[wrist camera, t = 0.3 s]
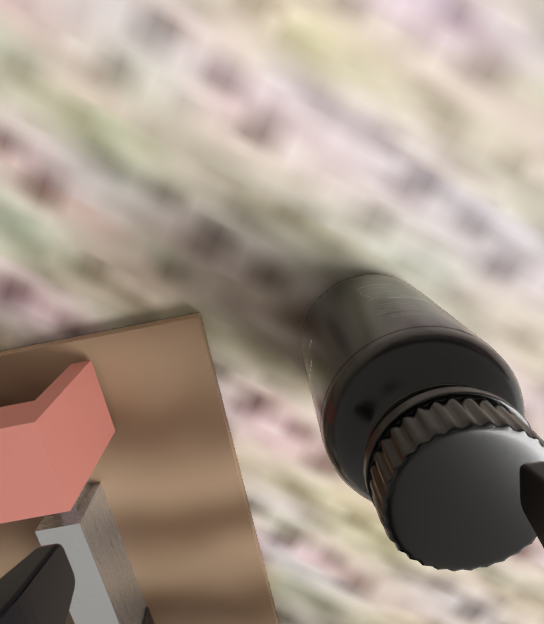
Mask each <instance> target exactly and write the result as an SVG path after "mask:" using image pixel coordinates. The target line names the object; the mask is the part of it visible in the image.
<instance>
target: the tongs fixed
mask: <svg viewBox="0 0 544 624" xmlns="http://www.w3.org/2000/svg"><path fill="white" fill-rule="evenodd" d="M35 533H36V535H37V538H38V540H39V542H40V545H41V546H44V545H50V544H56V543H57V544H61V545H62V546H63V548H64V550H65V552H66V555H67V557H68V560H69V562H70V565H71V567H72V570H73V572H74V576H75V589H74V593H73V597H72V601H71V605H70V609H69V611H70V614H71V616H72V618H73V621H74V623H75V624H154V621H153V618H152V616H151V613H150V610H149V607H146V604H145V601H144V598H143V596H142V593H141V590H140V587H139V585H138V582H137V579H136V577H135V574H134V571H133V568H132V566H131V563H130V560H129V557H128V555H127V552H126V549H125V546H124V544H123V541H122V538H121V536H120V533H119V530H118V527H117V525H116V522H115V519H114V516H113V514H112V511H111V508H110V505H109V503H108V500H107V497H106V495H105V492H104V489H103V486H102V484H101V482H98V483H93V484H92V483H91V480H90V477H89V479H88V481H87V482H86V484H85V486H84V488H83V489H82V491H81V493H80V495H79V497H78V498H77V500H76V502H75V504H74V505H73V507H72V509H71V511H67V512H62V513H56V514H51V515H45V516H44V518H43V519H42V521H41V522H40V524H39V526H38V527H37V529H36V530H35Z"/></svg>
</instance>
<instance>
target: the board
mask: <svg viewBox="0 0 544 624" xmlns="http://www.w3.org/2000/svg"><path fill="white" fill-rule="evenodd" d="M89 360H91V361H92V364H93V367H94V370H95V373H96V376H97V379H98V382H99V385H100V388H101V390H102V393H103V396H104V399H105V402H106V405H107V408H108V411H109V414H110V417H111V420H112V423H113V426H114V429H115V433H114V434H113V436H112V438H111V440H110V441H109V443H108V445H107V447H106V449H105V450H104V452H103V454H102V456H101V457H100V459H99V461H98V463H97V465H96V466H95V468H94V470H93V472H92V473H91V475H90V480H91V483H92V484H93V483H98V482H101V484H102V486H103V489H104V492H105V495H106V497H107V500H108V503H109V505H110V508H111V511H112V514H113V516H114V519H115V522H116V525H117V527H118V530H119V533H120V536H121V538H122V541H123V544H124V546H125V549H126V552H127V555H128V557H129V560H130V563H131V566H132V568H133V571H134V574H135V577H136V579H137V582H138V585H139V587H140V590H141V593H142V596H143V598H144V601H145V604H146V607H149V610H150V613H151V616H152V618H153V621H154V624H279V621H278V617H277V613H276V610H275V606H274V602H273V598H272V594H271V590H270V586H269V582H268V578H267V574H266V570H265V566H264V562H263V558H262V554H261V551H260V547H259V543H258V539H257V535H256V531H255V527H254V523H253V519H252V515H251V511H250V507H249V503H248V499H247V495H246V492H245V488H244V484H243V480H242V476H241V472H240V468H239V464H238V460H237V456H236V452H235V448H234V444H233V440H232V436H231V433H230V429H229V425H228V421H227V417H226V413H225V409H224V405H223V401H222V397H221V393H220V389H219V385H218V381H217V377H216V374H215V370H214V366H213V362H212V358H211V354H210V350H209V346H208V342H207V338H206V334H205V330H204V326H203V322H202V318H201V315H200V313H194V314H189V315H184V316H179V317H174V318H169V319H164V320H158V321H153V322H148V323H143V324H138V325H133V326H128V327H122V328H117V329H112V330H107V331H102V332H97V333H92V334H86V335H81V336H76V337H71V338H66V339H61V340H56V341H51V342H45V343H40V344H35V345H30V346H25V347H20V348H15V349H9V350H4V351H0V407H4V406H9V405H14V404H20V403H25V402H30V401H35V400H36V399H37V398H38V397H39V396H40V395H41V394H42V393H43V392H44V391H45V390H46V389H47V388H48V387H49V386H50V385H51V384H52V383H53V382H54V381H55V380H56V379H57V378H58V377H59V376H60V375H61V374H62V373H63V372H64V371H65V370H66V369H67V368H68V367H69V366H70V365H71V364H73V363H78V362H83V361H89ZM43 518H44V516H40V517H34V518H29V519H23V520H18V521H12V522H7V523H1V524H0V578H1V577H3V576H4V575H5V574H6V573H7V572H9V571H10V570H11V569H12V568H13V567H15V566H16V565H17V564H18V563H19V562H21V561H22V560H23V559H24V558H25V557H27V556H28V555H29V554H30V553H31V552H32V551H34V550H35V549H36V548H38V547H40V546H41V545H40V542H39V540H38V538H37V535H36V533H35V530H36V529H37V527H38V526H39V524H40V522H41V521H42V519H43ZM66 624H75V623H74V621H73V618H72V616H71V614H70V611H69V613H68V617H67V621H66Z"/></svg>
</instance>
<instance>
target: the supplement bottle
mask: <svg viewBox="0 0 544 624" xmlns="http://www.w3.org/2000/svg"><path fill="white" fill-rule="evenodd" d="M302 353H303V358H304V364H305V368H306V372H307V376H308V381H309V385H310V389H311V393H312V398H313V402H314V406H315V411H316V415H317V419H318V423H319V427H320V432H321V436H322V440H323V443H324V447H325V449H326V452H327V455H328V457H329V460H330V462H331V464H332V466H333V467H334V469H335V470H336V472H337V473H338V475H339V476H340V477H341V478H342V479H343V481H344V482H345V483H346V484H347V485H348V486H350V487H351V488H352V489H353V490H354V491H356V492H357V493H358V494H360V495H361V496H363V497H364V498H366V499H368V500H370V501H371V502H372V503H373V504H374V506H375V508H376V510H377V513H378V516H379V518H380V521H381V523H382V525H383V526H384V529H385V532H386V534H387V536H388V538H389V539H390V540H391V541H392V542H394V543H395V546H396V547H397V549H398V550H399V551H401V552H404V553H406V554H407V556H408V557H409V558H410V559H412V560H417V561H419V562H420V563H421V564H422V565H425V566H433V567H434V568H436V569H438V570H440V569H448V570H451V571H458V570H462V569H463V570H470V571H471V570H473V569H476V568H479V567H488V566H490V565H492V564H494V563H498V562H503V561H505V560H506V559H507V558H508V557H510V556H512V555H515V554H518V553H519V552H520V551H521V550H522V549H523V548H524V547H526V546H528V545H530V544H532V543H533V541H534V540H535V538H536V537H537V535H536V533H535V531H534V530H533V528H532V526H531V524H530V523H529V521H528V519H527V517H526V515H525V513H524V511H523V509H522V506H521V502H520V479H519V470H520V467H521V466H522V465H523V464H526V463H532V462H538V461H544V441H543V440H542V439H541V438H540V437H539V436H538V435H537V434H536V433H535V432H534V431H533V430H532V429H531V427H530V425H529V423H528V422H527V421H526V419H525V418H524V403H523V397H522V393H521V389H520V386H519V383H518V381H517V379H516V377H515V375H514V373H513V371H512V370H511V368H510V367H509V365H508V364H507V363H506V361H505V360H504V359H503V358H502V357H501V356H500V355H499V354H498V353H497V352H496V351H495V350H494V349H493V348H492V347H490V346H489V345H488V344H487V343H486V342H484V341H483V340H482V339H481V338H479V337H478V336H477V335H475V334H474V333H473V332H472V331H470V330H469V329H468V328H466V327H465V326H464V325H463V324H461V323H460V322H459V321H457V320H456V319H455V318H454V317H452V316H451V315H450V314H448V313H447V312H446V311H445V310H443V309H442V308H441V307H440V306H438V305H437V304H436V303H434V302H433V301H432V300H431V299H429V298H428V297H427V296H425V295H424V294H423V293H421V292H420V291H419V290H417V289H416V288H414V287H413V286H412V285H410V284H408V283H406V282H404V281H402V280H400V279H398V278H394V277H391V276H387V275H379V274H369V275H361V276H356V277H353V278H350V279H347V280H344V281H342V282H340V283H338V284H337V285H335V286H333V287H332V288H330V289H329V290H328V291H326V292H325V293H324V294H323V295H322V296H321V297H320V298H319V299H318V300H317V302H316V303H315V304H314V306H313V307H312V309H311V310H310V312H309V314H308V316H307V318H306V321H305V324H304V328H303V333H302Z"/></svg>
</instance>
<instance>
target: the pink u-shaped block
mask: <svg viewBox="0 0 544 624" xmlns="http://www.w3.org/2000/svg"><path fill="white" fill-rule="evenodd" d="M114 433H115V429H114V426H113V423H112V420H111V417H110V414H109V411H108V408H107V405H106V402H105V399H104V396H103V393H102V390H101V388H100V385H99V382H98V379H97V376H96V373H95V370H94V367H93V364H92V361H91V360H89V361H83V362H78V363H73V364H71V365H70V366H69V367H68V368H67V369H66V370H65V371H64V372H63V373H62V374H61V375H60V376H59V377H58V378H57V379H56V380H55V381H54V382H53V383H52V384H51V385H50V386H49V387H48V388H47V389H46V390H45V391H44V392H43V393H42V394H41V395H40V396H39V397H38V398H37V399H36V400H35V401H30V402H25V403H20V404H14V405H9V406H4V407H0V524H1V523H7V522H12V521H18V520H23V519H29V518H34V517H40V516H45V515H51V514H56V513H62V512H67V511H71V509H72V507H73V505H74V504H75V502H76V500H77V498H78V497H79V495H80V493H81V491H82V489H83V488H84V486H85V484H86V482H87V481H88V479H89V477H90V475H91V473H92V472H93V470H94V468H95V466H96V465H97V463H98V461H99V459H100V457H101V456H102V454H103V452H104V450H105V449H106V447H107V445H108V443H109V441H110V440H111V438H112V436H113V434H114Z"/></svg>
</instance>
